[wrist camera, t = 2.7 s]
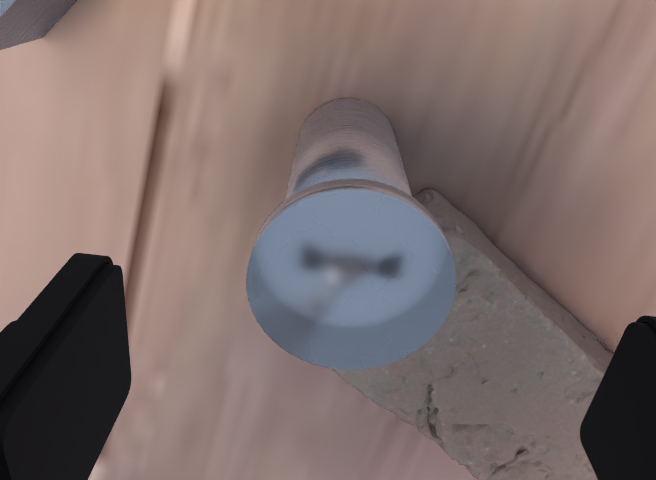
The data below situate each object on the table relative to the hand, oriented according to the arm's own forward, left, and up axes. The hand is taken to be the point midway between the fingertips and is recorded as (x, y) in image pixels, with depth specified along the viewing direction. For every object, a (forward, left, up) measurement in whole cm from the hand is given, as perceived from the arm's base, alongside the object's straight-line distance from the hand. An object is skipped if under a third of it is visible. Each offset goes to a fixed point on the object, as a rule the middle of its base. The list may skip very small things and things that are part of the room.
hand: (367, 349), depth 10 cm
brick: (-12, +2, -14) cm, 19 cm away
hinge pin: (0, +1, -14) cm, 14 cm away
